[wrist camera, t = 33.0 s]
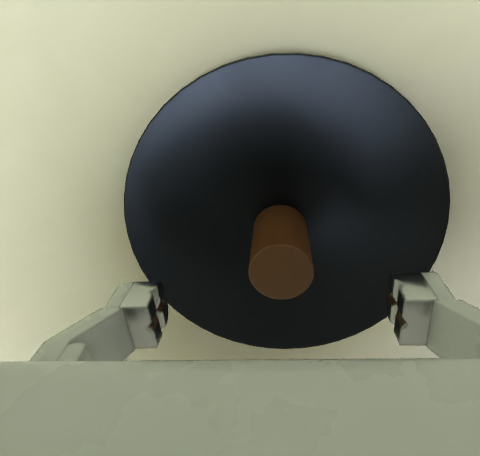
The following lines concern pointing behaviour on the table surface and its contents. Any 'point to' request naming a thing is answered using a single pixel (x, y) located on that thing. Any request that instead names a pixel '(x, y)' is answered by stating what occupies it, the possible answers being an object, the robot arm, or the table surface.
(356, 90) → the pot lid
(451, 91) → the table surface
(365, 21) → the table surface
